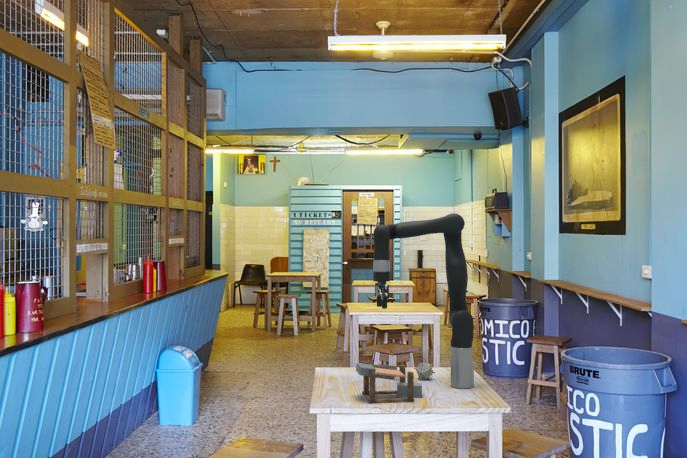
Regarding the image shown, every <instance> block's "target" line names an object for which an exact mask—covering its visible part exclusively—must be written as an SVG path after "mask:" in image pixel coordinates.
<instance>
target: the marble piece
mask: <svg viewBox="0 0 687 458" xmlns="http://www.w3.org/2000/svg"><path fill="white" fill-rule="evenodd" d="M371 365H372V366H373V367H374V368H382V369H390V370H398V368H397V366H396V365H386V364H384V365H383V364H373V363H372V364H371ZM376 378H378V379H383V380H384V379H385V380H394V379H395V376H386V375H378V374H376V375H375V379H376Z"/></svg>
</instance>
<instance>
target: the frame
mask: <svg viewBox="0 0 687 458" xmlns="http://www.w3.org/2000/svg"><path fill="white" fill-rule="evenodd" d="M363 364H370V362H369V361H363ZM399 371H400V372H401V373H403V374H404V375H405V376H406V372H407V376H406V377H405V378H403V377H398V378H399V381H398V383H407V398H406V397H397V398H376V396H378V395H379V396H380V395H397V389H395V390H394V389H393V390H376V378H375V373H376V369H375V368H372V369H369V376H362V377H363V385H362V386H363V391H362V393H361V394H362V396H366V395H367V396H369V397H368V400H367V402H368V404H390V403H391V404H393V403H414V402H415V398H414V383H415V382H414V379H415V378H414V376H415V375H414V372H413V371H406V365H405V364H399ZM406 378H407V381H406Z"/></svg>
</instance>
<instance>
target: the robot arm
mask: <svg viewBox="0 0 687 458" xmlns="http://www.w3.org/2000/svg"><path fill="white" fill-rule="evenodd" d="M465 225H466V224H465V219H464V218H463V216H461V215H460V214H459V213H448V214H446V215H445V216H442V217H441V216H440V217H438V218H437V217H436V218H431V219H423V220H412V221H411V220H410V221H403V222H397V223H393V224H378V225H377V226H375V228H374V230H373V246H374V248H373V265H372V274H373V275H372V281H374V282H375V283H374V297H375V299H376V307H379V308H381V309H384V310H385V309H387V308H388V299H390V289H389V288H390V285H389V284H387V282H390V281H391V262H390V261H391V260H390V256H391V255H390V251H391V250H390V240H396V239H408V238H417V237H421V236H426V235H431V234H432V235H433V234H442V235H443V239H444V244H445V253H444V254H445V255H444V256H445V257H444V258H445V275H446V283H447V284H446V285H447V291H448V297H449V311H448V312H449V313H448V315H449V324H450V325H451V339H450V387H451V388H455V389H472V388H475V366H474V364H473V342H474V329H475V327H474V318H473V315H472V314H471V313H470V312H469V311H468V304H467V290H468V282H469V281H468V280H469V276H468V275H469V274H468V265H467V260H466V255H465V253H464V252H465V251H464V249H463V242H462V238H463V237H462V233H463V232H462V231H463V230H464V228H465Z"/></svg>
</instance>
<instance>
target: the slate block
mask: <svg viewBox="0 0 687 458" xmlns="http://www.w3.org/2000/svg"><path fill="white" fill-rule="evenodd" d="M396 390H397V394H396V397H397V398H407V382H405V383H399V381H398V382H397V383H396ZM414 399H423V384H422V382H414Z"/></svg>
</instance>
